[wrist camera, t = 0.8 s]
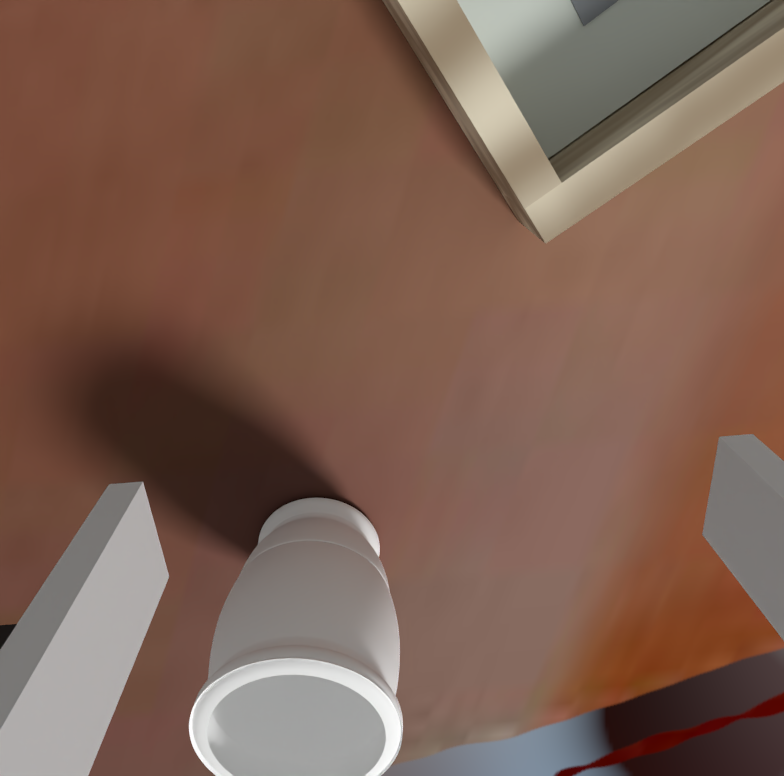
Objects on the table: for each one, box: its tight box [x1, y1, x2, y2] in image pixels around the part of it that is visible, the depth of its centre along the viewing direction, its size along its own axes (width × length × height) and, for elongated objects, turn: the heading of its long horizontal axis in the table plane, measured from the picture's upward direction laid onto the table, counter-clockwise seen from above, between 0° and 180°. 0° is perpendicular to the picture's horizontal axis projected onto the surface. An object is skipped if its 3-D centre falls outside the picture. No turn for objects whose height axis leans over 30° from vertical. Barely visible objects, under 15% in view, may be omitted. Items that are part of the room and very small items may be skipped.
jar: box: [189, 498, 403, 776], centre depth 38 cm, size 11×10×15 cm
